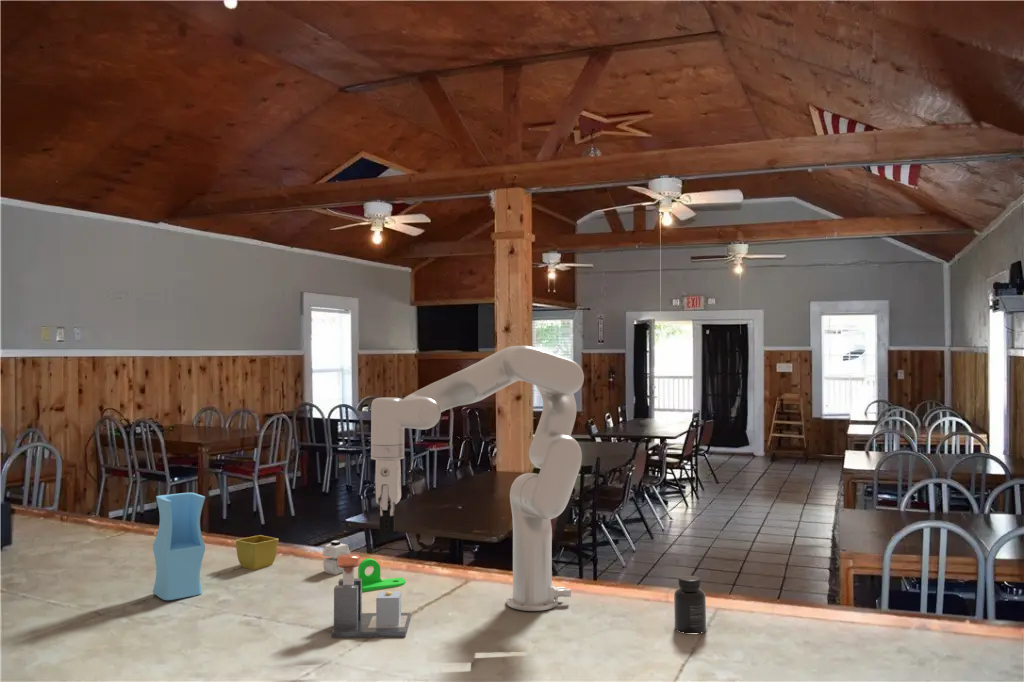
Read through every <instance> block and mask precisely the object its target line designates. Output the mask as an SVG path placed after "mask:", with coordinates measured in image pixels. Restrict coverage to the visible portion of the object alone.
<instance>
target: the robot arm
mask: <svg viewBox="0 0 1024 682" xmlns="http://www.w3.org/2000/svg"><path fill="white" fill-rule="evenodd" d="M584 380H585V374H584V371H583V369H582V367H581V365H580V364H578V363H577V362H576V361H574V360H572V359H570V358H566V357H564V356H561V355H557V354H554V353H551V352H548V351H545V350H542V349H541V348H536V347H533V346H529V345H510V346H508V347H507V346H506V347H505V348H502V349H500V350H498V351H496V352H493V354H491V355H489V356H487V357H485V358H483V359H481V360H480V361H478V362H476V363H473V364H471V365H470V366H468V367H466V368H463V369H461V370H459V371H457V372H454V373H451V374H450V375H447V376H446V377H443V378H441V379H439V380H436V381H434V382H432V383H429V384H428V385H426V386H424V387H422V388H420V389H418V390H416V391H414V392H412V393H410V394H408V395H406V396H405V397H403V399H402V398H400V397H377V398H374V399H373V400H372V402H371V407H370V411H371V413H370V416H371V417H370V418H371V420H370V421H371V422H370V425H371V426H370V427H371V429H370V430H371V432H370V459H371V460H375V502H376V504H378V505H379V510H380V511H379V534H380V535H393V534H394V533H395V528H396V527H395V526H396V525H395V523H396V522H395V521H396V519H395V517H396V515H395V505H397V504H398V503H399V502H400V500H401V498H402V474H401V472H402V470H401V460H403V459H405V429H415V430H422V431H423V430H429V429H431V428H434V427H435V426H436V425H437V424H438V423H439V421H440V419H441V416H442V414H441V413H444V412H446V410H450V409H453V408H456V407H460V406H465V405H471V404H474V403H477V402H478V403H479V402H480V401H483V400H484V399H486V398H489V396H492V395H494V394H495V393H497V392H499V391H501V390H503V389H504V388H506V387H508V386H510V385H512V384H514V383H517V382H525V383H529V384H531V385H534V386H535V387H536V388H537V389H538V391H539V394H540V396H541V398H542V411H541V415H540V418H539V422H538V425H537V427H536V430H535V433H534V436H533V439H532V441H531V443H530V447H529V450H528V457H529V458H528V459H529V461H530V462H531V464H532V465H533V466H534V467H536V468H538V469H540V470H539V473H534V472H526V473H522V474H520V475H519V476H517V477H516V478H515V479H514V481H513V482H512V484H511V486H510V490H509V502H510V509H511V515H512V594H510V595H508V596H507V597H506V604H507V606H508V607H510V608H511V609H515V610H518V611H526V612H527V611H528V612H540V611H546V610H547V611H548V610H552V609H554V608H556V607H557V606H558V605H559V598H560V597H561V598H571V597H572V591H571V590H572V589H571V588H566V587H564V586H561V587H556V586H555V585H554V583H553V580H552V579H553V578H552V577H553V576H552V575H553V574H552V573H553V571H552V568H553V565H552V562H553V561H552V559H553V557H552V551H553V550H552V547H553V546H552V545H553V544H552V540H553V531H552V530H553V529H552V522H551V521H552V519H553V520H554V519H557V517H559V516H560V515H561V514H562V513H563V512H564V511H565V510H566V507H567V506H568V503H569V501H570V499H571V495H572V493H573V489H574V487H575V484H576V481H577V477H578V476H579V475H578V474H579V473H580V469H581V466H582V460H583V458H582V457H583V454H582V448H581V446H580V444H579V443H578V441H577V440H576V439H575V438H574V437H572V432H573V429H574V425H575V422H576V417H577V412H578V411H577V409H578V408H577V403H576V402H577V401H576V398H575V395H574V394H576V393H577V392H578V391H580V389H581V388H582V386H583V385H584Z"/></svg>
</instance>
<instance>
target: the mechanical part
mask: <svg viewBox="0 0 1024 682" xmlns="http://www.w3.org/2000/svg"><path fill="white" fill-rule="evenodd" d="M357 567H358V568H357V571H358V572H357V578H362V593H365V592H372V591H379V590H384V589H391V588H397V587H402V586H405V584H406V580H405V578H404V577H392V578H384V579H381V566H380V564H379V562H378V561H377V560H375V559H374V558H372V557H368V558H365V559H363V560H362V561H360V565H359V566H357ZM368 567H372V568H373V571H372V573H370V574H366V570H367V568H368Z"/></svg>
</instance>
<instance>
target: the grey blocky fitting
mask: <svg viewBox="0 0 1024 682" xmlns="http://www.w3.org/2000/svg"><path fill="white" fill-rule="evenodd" d="M342 554H351V551H350V549H349V545H348V544H345V543H341V541H340V540H332V541H331V542H330V543H328V544H326V545H324V548H323V551H322V557H327V558H324V559H323V561H322V564H323V569H324V571H325V573H326V574H330V575H338V574H343V568H340V567H337V556H339V555H342Z"/></svg>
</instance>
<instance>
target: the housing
mask: <svg viewBox="0 0 1024 682" xmlns="http://www.w3.org/2000/svg"><path fill="white" fill-rule="evenodd" d="M377 593H378V594H377V595H376V597H375V599H376V600H375V602H376V605H375V606H376V607H375V609H376V610H375V613H376V625H399V622H400V619H401V613H402V590H401V591H399V590H398V591H394V590H393V591H390V590H389V591H378V592H377Z"/></svg>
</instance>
